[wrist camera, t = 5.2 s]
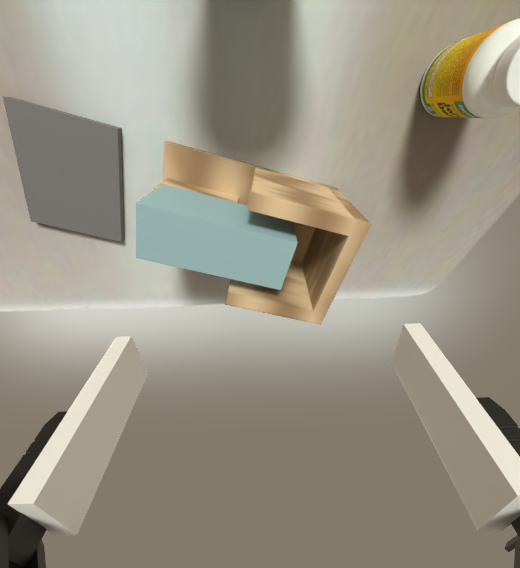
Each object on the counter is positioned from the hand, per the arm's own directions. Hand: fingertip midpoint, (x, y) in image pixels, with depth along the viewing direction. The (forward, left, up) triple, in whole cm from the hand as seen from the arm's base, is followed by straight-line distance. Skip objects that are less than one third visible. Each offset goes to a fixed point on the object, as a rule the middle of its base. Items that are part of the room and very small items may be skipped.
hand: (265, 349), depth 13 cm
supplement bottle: (+13, +16, -21) cm, 29 cm away
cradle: (-2, 0, -20) cm, 20 cm away
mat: (-21, -1, -20) cm, 29 cm away
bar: (-4, 0, -15) cm, 16 cm away
